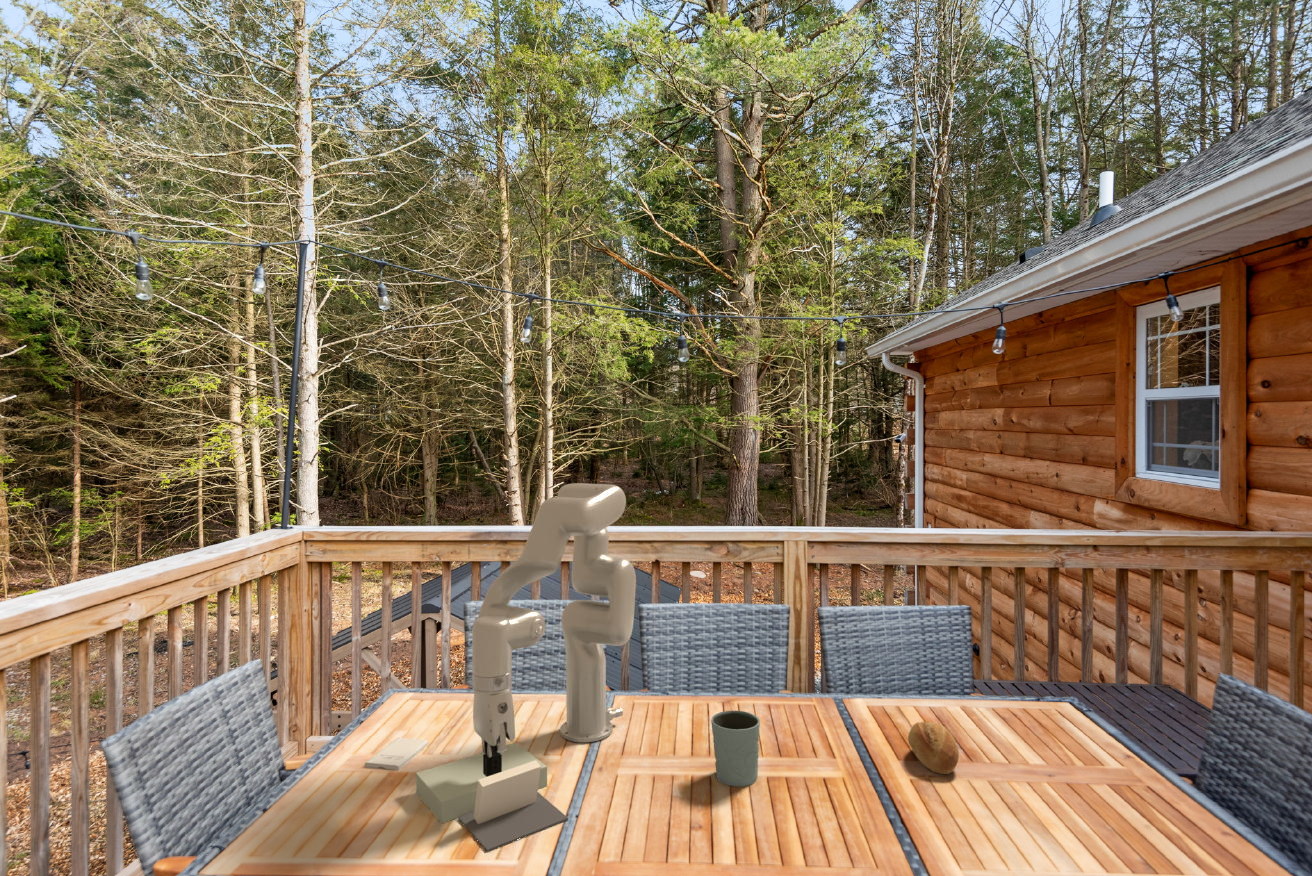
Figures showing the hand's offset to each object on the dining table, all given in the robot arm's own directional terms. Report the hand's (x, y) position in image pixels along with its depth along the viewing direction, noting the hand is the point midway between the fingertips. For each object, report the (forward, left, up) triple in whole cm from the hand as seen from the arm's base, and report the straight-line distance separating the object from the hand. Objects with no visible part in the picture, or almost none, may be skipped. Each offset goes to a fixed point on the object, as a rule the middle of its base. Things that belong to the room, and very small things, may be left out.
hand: (492, 773), depth 136 cm
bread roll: (-82, +45, -6) cm, 94 cm away
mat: (0, +9, -5) cm, 10 cm away
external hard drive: (+9, -32, -6) cm, 33 cm away
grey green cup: (-44, +23, -6) cm, 50 cm away
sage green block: (0, -5, -5) cm, 8 cm away
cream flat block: (0, +6, -1) cm, 6 cm away
